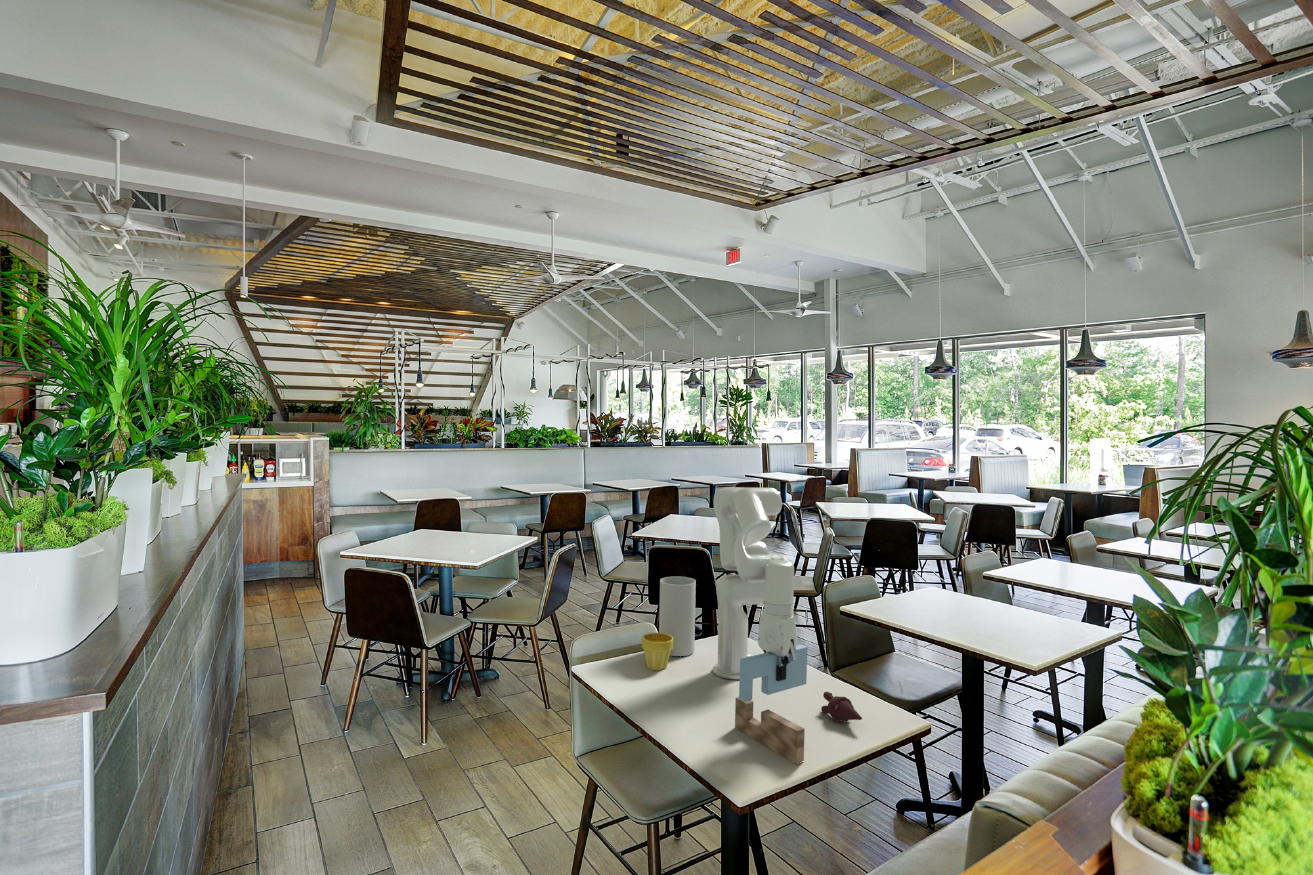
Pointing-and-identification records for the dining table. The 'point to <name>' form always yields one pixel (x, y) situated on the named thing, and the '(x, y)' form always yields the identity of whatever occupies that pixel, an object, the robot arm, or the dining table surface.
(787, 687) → the slotted plate
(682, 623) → the cylinder vase
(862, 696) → the dining table surface
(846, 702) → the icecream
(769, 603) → the robot arm
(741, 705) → the walnut board
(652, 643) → the plant pot
